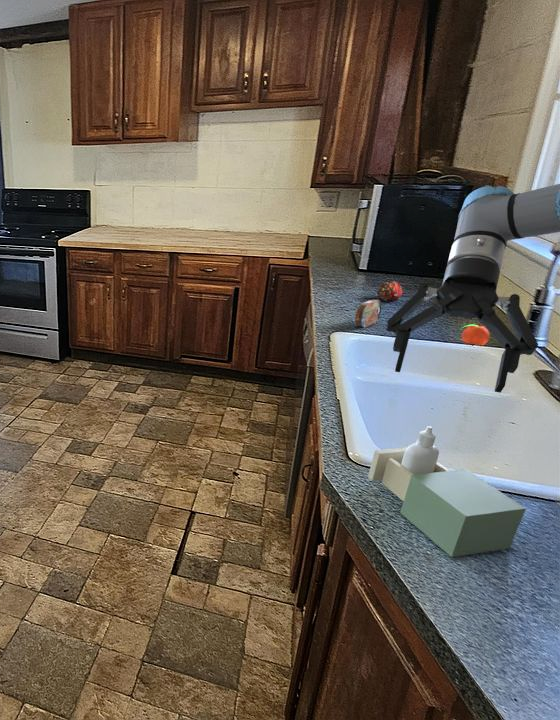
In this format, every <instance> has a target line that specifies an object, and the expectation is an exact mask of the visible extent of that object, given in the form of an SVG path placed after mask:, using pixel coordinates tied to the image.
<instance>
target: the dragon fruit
mask: <svg viewBox="0 0 560 720" xmlns="http://www.w3.org/2000/svg"><path fill="white" fill-rule="evenodd" d="M376 294H377V295H378V296H379V297H380V298H381V300H383V301H385V302H390V301H393V302H394V301H395V302H397V301H398V300H399V297H401V296H402V295H403V289H402V286H401V285H400V284H399V283H398V282H397V281H387V282H385V283H380V285H379V288H378V291H377V292H376Z"/></svg>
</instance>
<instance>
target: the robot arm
mask: <svg viewBox="0 0 560 720" xmlns="http://www.w3.org/2000/svg"><path fill="white" fill-rule="evenodd" d="M556 233H560V183H556V184H552V185H549V186H544V187H540V188H535V189H532V190H528V191H526V192H524V191H523V192H519V193H514V191H513V190H512V189H510V188H508V187H505V186H502V185H498V186H492V185H486V186H481V187H480V188H479V187H478V188H476V189H475V190H472V192H470V193H469V194H468V195H467V196H466V197H465V199H464V201H463V204H462V207H461V209H460V211H459V213H458V217H457V225H456V230H455V234H454V239H453V242H452V245H451V249H450V251H449V256H448V260H447V264H446V268H445V272H444V276H443V279H442V283H441V286H440V287H439V288H436V287H430V286H429V283H427V282H422V283H420V285H419V288H418V290H417V292H416V293H415V294H414V295H413V296H412V297H411V298H410V299H409V300H408V301H407V302H406V303H405V304H404V305H402V306H401V307H400V308H399V309H398V310H397V311H396V312H395V313H394V314H393V315H392V316H391V317H390V318H389V319H388V320H387V322H386V328H385V330H386V331H387V332H390V333H393V334H395V338H394V341H393V344H392V345H393V346H392V351H393V352H394V353H395V352H396V353H398V357H397V361H396V365H395V368H394V372H396V373H401V370H402V367H403V363H404V359H405V357H406V356H405V355H406V351H407V348H408V344H409V341H410V337H411V333H412V332H414V331H416V330H417V329H419V328H420V327H423V326H424V325H426V324H428V323H429V322H431V321H433V320H435V319H437V318H440V317H442V316H444V315H446V314H448V315H449V317H453V318H464V319H466V320H473V319H477V320H478V321H479V323H480V325H484V327H485V328H486V329H487V330H488V332H489V333H491V334H492V336H493V337H494V338H495V339H496V340H497V342H498V343H499V344H500V345H501V346H502V348H503V349H504V351H503V353H502V354H501V358H500V362H499V367H498V373H497V377H496V382H495V386H494V390H493V391H494V393H499V394H501V393H502V391H503V390H504V389H505V387H506V383H507V378H508V374H514V373H515V372H516V371H517V369H518V368H519V364H520V358H521V355H527V356H531V355H533V354H534V352H535V351H536V350H537V348H538V347H539V343H538V341H537V339H536V337H535V335H534V333H533V331H532V329H531V327H530V325H529V323H528V321H527V319H526V317H525V315H524V313H523V311H522V309H521V305H520V303H521V297H520V295H519V294H517V293H513V294H511V295H510V296H498V294H497V288H498V283H499V279H500V275H501V269H502V265H503V260H504V255H505V250H506V247H507V244H508V241H513V240H521V239H525V238H530V237H536V236H544V235H549V234H556ZM432 297H435V299H436V300H437V301H436V302H435V303H434V304H433V305H431V306H430V307H428V308H427V309H424V310H422V311H421V312H419V313H418V314H416V315H415V316H414V315H413V316H412V317H411V318H409V317H410V316H411V315H412V314H413V313H414V312H415V311H416V310H417V309H418V308H419V307H421V305H422V304H423V303H424V301H428V300H430V299H431V298H432ZM496 305H498V306H500V309H501V310H502V311H503V312H505V314H506V317H507V320H508V322H509V324H510V326H511V329H512V330H513V332H512V331H511V330H510V328H508V326H507V325H506V324H505V323H504V322H503V320H501V318H500V317H499V316H498V314H496V310H495V309H494V307H495V306H496ZM408 318H409V319H408ZM406 319H407V320H406ZM513 333H514V334H513Z"/></svg>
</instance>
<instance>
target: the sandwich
mask: <svg viewBox="0 0 560 720" xmlns="http://www.w3.org/2000/svg"><path fill="white" fill-rule="evenodd" d="M381 312H382V302H381V300H379V299H369V300H367V301H365V302H362V303H360V304H359V305H358V306H357V308H356V311H355V319H354V325H355V326H356V327H360V328H364V329H365V328H368V327H369V326H372V325H374V324H376V323H377V322H378V320H379V318H380V317H381V316H380V315H381Z"/></svg>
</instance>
